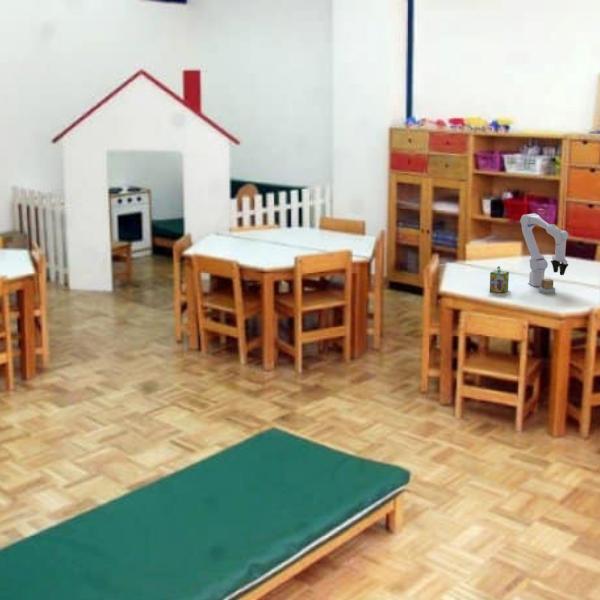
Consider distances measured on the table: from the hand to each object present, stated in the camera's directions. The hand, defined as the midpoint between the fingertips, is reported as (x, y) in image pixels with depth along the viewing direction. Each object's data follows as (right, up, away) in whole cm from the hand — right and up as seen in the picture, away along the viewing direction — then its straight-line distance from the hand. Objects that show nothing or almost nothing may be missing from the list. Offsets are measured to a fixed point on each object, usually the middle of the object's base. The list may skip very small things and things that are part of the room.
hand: (558, 273), depth 523 cm
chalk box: (-35, -10, +1) cm, 37 cm away
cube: (-8, -9, -4) cm, 12 cm away
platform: (-8, -11, -3) cm, 14 cm away
